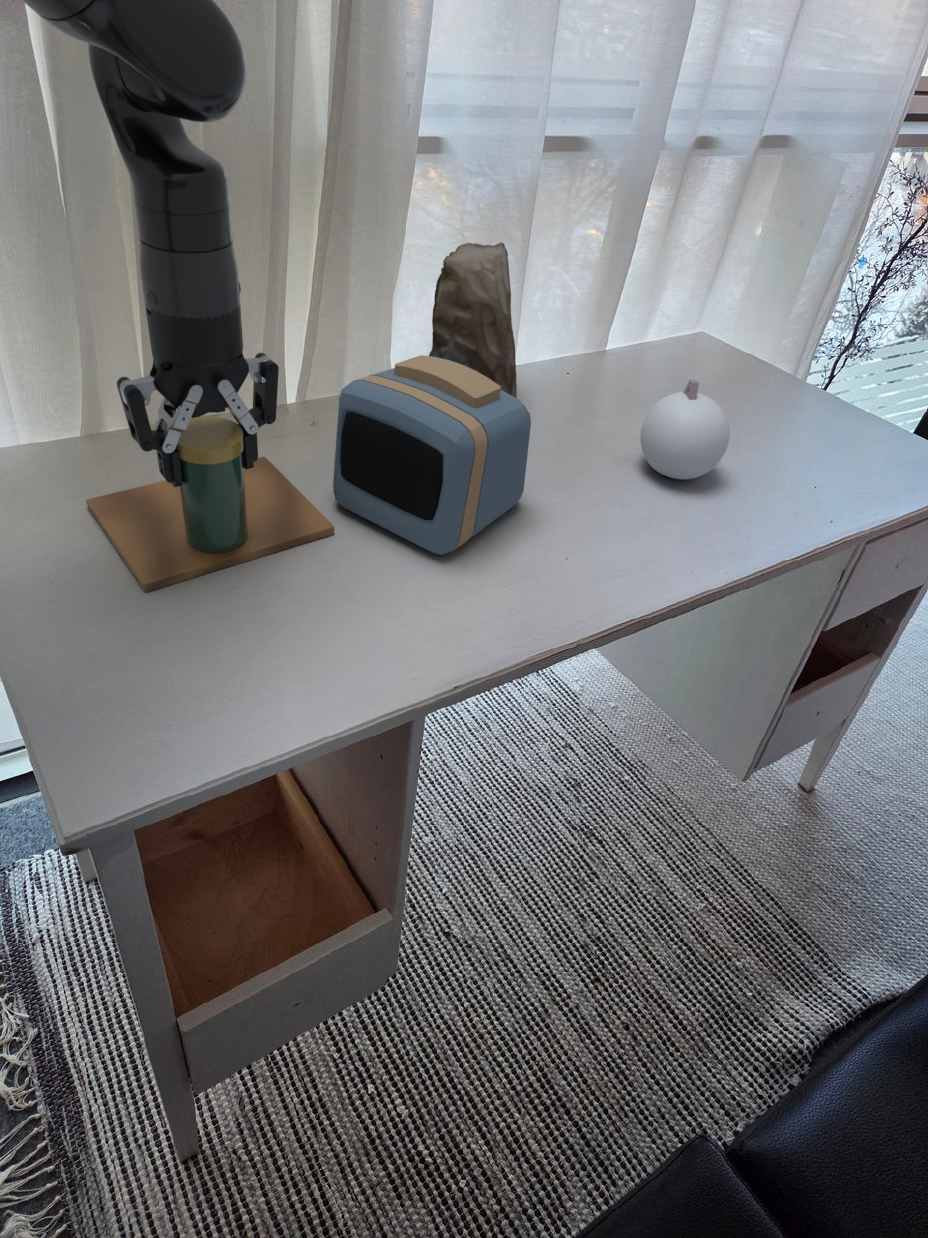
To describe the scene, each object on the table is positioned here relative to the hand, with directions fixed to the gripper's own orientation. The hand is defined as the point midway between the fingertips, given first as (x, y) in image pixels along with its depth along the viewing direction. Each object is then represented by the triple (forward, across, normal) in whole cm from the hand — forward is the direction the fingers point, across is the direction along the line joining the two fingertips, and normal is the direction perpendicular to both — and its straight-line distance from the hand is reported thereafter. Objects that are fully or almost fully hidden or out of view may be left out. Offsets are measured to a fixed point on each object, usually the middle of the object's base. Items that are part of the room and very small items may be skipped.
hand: (210, 473), depth 79 cm
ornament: (+8, -55, +12) cm, 57 cm away
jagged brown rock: (+8, -41, -12) cm, 44 cm away
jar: (+7, 0, 0) cm, 7 cm away
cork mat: (+8, -1, -4) cm, 9 cm away
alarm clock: (+8, -23, +4) cm, 25 cm away
